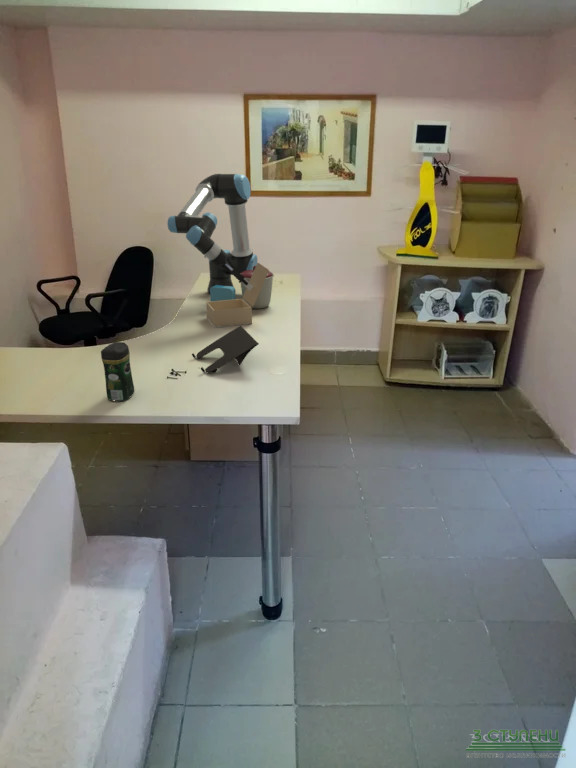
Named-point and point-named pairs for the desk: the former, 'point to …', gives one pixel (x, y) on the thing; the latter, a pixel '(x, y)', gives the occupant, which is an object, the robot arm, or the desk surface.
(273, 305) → the desk surface
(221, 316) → the box
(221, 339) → the portable electronic device stand
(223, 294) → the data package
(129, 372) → the coffee jar
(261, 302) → the canister
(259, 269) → the mailer lid
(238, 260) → the robot arm
